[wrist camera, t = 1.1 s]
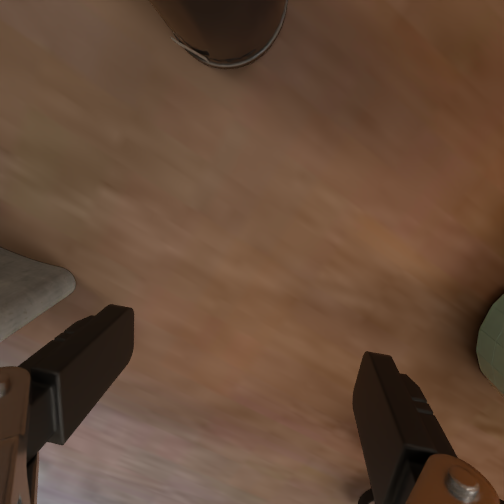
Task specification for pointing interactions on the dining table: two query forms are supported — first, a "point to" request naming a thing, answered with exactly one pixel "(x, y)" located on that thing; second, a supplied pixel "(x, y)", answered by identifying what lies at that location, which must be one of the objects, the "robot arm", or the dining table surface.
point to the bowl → (492, 346)
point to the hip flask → (28, 290)
